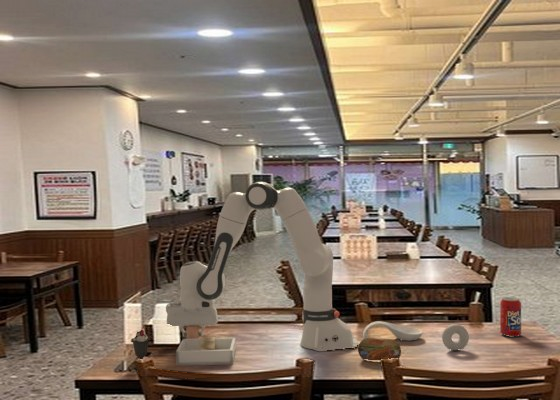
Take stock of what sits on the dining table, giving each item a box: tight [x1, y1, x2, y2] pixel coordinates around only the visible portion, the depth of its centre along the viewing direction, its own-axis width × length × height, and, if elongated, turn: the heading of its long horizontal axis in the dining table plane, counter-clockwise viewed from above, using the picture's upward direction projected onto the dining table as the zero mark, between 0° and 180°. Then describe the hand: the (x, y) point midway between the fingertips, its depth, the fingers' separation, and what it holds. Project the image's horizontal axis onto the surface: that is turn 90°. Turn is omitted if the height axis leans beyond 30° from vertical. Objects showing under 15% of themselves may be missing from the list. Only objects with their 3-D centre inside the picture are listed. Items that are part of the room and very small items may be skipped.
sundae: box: [130, 326, 151, 360], centre depth 202 cm, size 7×7×15 cm
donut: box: [441, 323, 470, 351], centre depth 213 cm, size 10×4×10 cm, turn 95°
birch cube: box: [201, 336, 217, 350], centre depth 215 cm, size 5×5×5 cm
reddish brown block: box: [185, 325, 200, 339], centre depth 230 cm, size 5×5×7 cm
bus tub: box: [175, 337, 237, 367], centre depth 211 cm, size 20×16×5 cm
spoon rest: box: [362, 320, 424, 341], centre depth 230 cm, size 24×12×7 cm, turn 88°
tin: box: [357, 337, 402, 361], centre depth 203 cm, size 15×3×8 cm, turn 68°
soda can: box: [499, 296, 522, 337], centre depth 231 cm, size 8×8×15 cm
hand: (192, 336), depth 230 cm, fingers closed on reddish brown block, 5 cm apart
